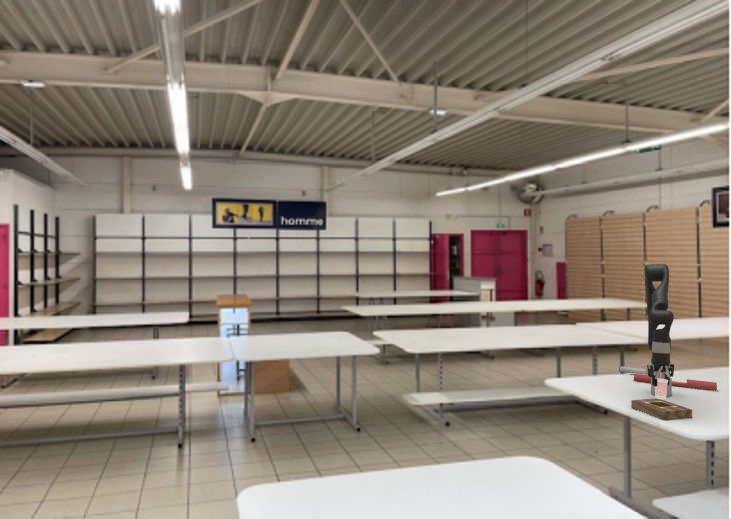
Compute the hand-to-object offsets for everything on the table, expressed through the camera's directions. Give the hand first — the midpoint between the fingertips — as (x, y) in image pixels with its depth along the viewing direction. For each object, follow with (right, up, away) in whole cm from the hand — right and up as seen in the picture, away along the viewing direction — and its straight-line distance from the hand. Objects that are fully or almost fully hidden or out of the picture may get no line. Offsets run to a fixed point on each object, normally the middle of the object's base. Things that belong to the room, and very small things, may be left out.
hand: (660, 385), depth 246 cm
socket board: (0, -13, 0) cm, 13 cm away
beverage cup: (0, -6, 0) cm, 6 cm away
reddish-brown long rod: (+40, -14, +55) cm, 69 cm away
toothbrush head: (+32, -14, +81) cm, 89 cm away
